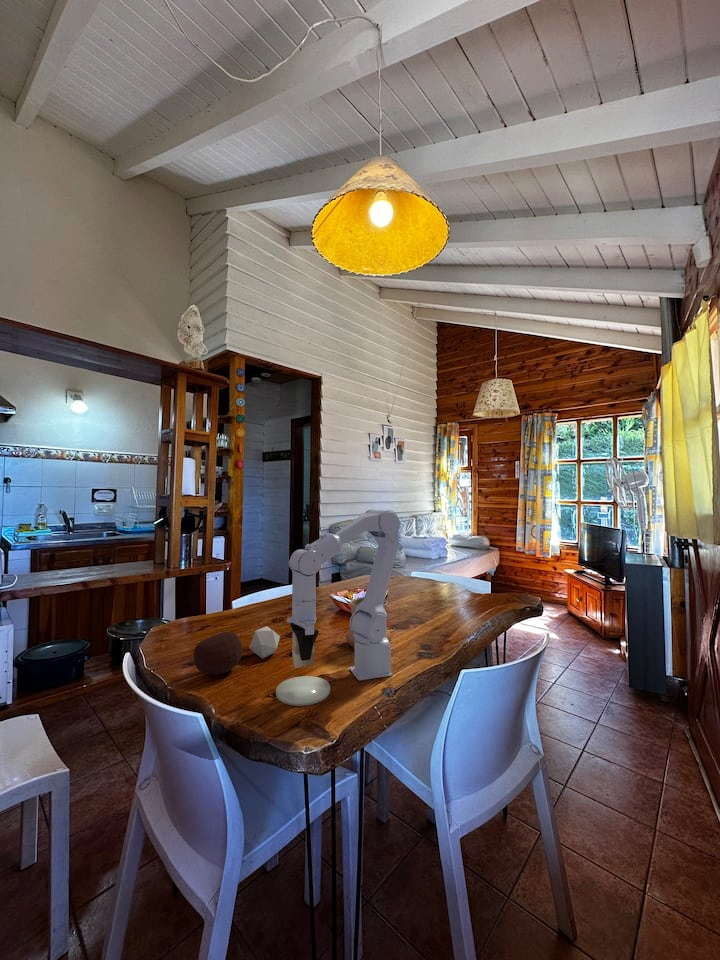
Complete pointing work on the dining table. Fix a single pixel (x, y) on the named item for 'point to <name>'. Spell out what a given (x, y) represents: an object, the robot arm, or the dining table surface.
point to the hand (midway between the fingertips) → (303, 655)
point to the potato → (218, 653)
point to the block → (296, 655)
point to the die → (264, 642)
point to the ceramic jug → (355, 602)
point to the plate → (303, 691)
